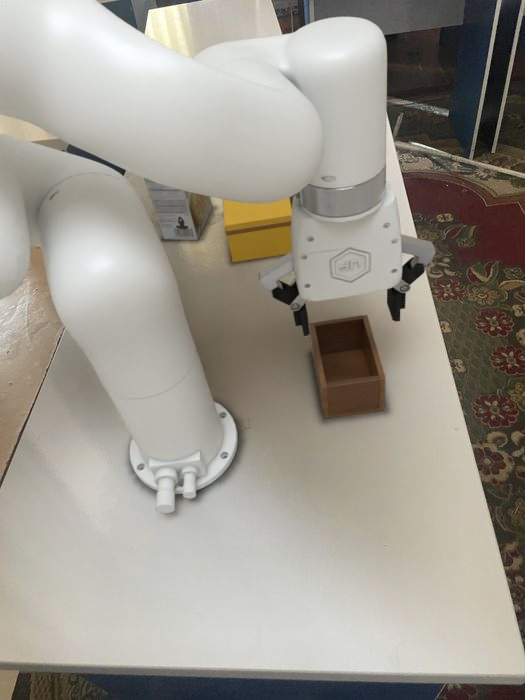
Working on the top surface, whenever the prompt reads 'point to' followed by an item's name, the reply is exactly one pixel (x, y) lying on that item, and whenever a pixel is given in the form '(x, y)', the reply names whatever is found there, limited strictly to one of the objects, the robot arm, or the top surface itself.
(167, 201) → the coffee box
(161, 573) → the top surface
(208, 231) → the top surface
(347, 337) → the wooden box
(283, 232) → the box
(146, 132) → the robot arm
